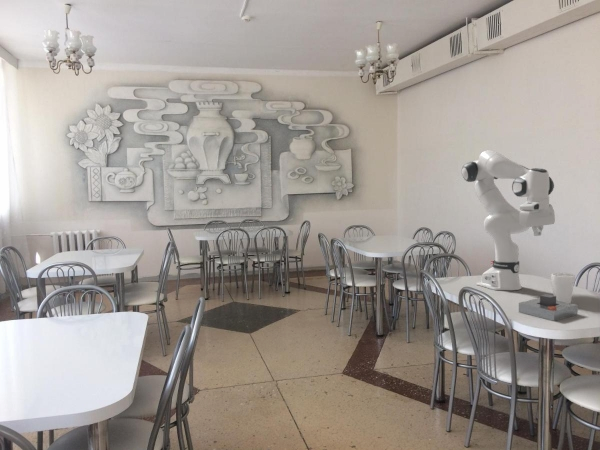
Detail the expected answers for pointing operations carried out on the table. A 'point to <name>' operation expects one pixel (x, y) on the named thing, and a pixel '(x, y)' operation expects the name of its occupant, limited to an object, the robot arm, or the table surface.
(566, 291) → the foam cup
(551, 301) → the plug
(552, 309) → the socket
